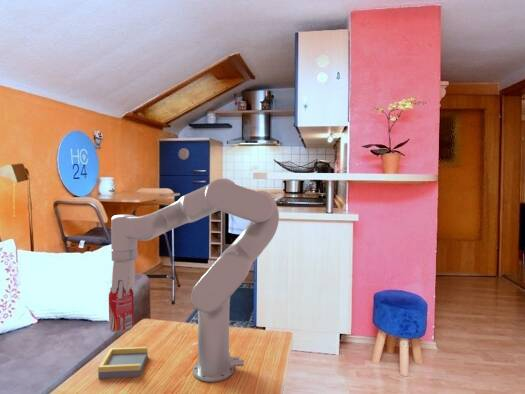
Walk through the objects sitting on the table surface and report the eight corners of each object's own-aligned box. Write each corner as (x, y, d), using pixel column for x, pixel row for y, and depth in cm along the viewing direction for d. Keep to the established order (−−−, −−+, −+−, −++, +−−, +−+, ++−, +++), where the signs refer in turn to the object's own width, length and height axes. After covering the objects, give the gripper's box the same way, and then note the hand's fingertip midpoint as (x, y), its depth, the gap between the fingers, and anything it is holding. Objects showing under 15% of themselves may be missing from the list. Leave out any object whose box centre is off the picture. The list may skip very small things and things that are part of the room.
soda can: (139, 326, 117) (138, 285, 116) (122, 335, 110) (121, 292, 110) (121, 323, 120) (120, 283, 119) (103, 331, 113) (103, 289, 112)
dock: (147, 356, 125) (147, 346, 125) (140, 376, 113) (139, 365, 113) (110, 358, 123) (109, 348, 123) (98, 378, 112) (98, 367, 111)
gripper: (118, 249, 123) (119, 303, 124) (104, 261, 107) (105, 323, 109) (142, 249, 124) (142, 303, 125) (131, 260, 108) (131, 322, 109)
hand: (125, 312), depth 117 cm, fingers closed on soda can, 2 cm apart
